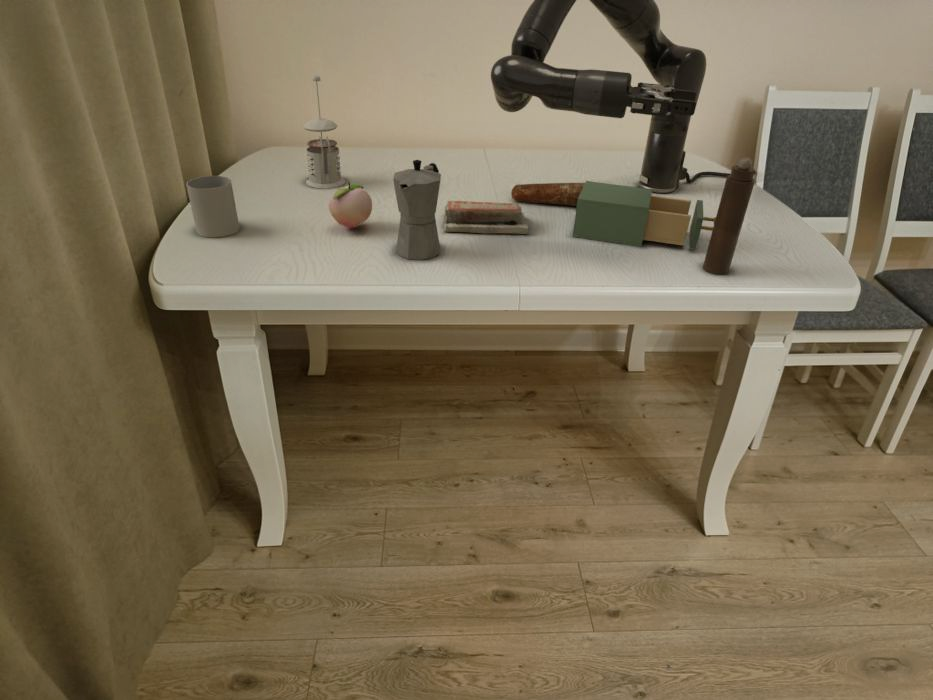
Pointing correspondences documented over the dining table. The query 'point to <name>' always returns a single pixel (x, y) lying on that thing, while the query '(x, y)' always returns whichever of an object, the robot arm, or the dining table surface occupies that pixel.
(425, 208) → the coffeepot
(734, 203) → the pepper mill
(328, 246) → the dining table surface
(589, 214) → the cabinet
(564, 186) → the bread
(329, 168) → the french press
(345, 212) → the decorative fruit
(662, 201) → the drawer
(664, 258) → the dining table surface
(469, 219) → the packaged product
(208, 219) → the cup
